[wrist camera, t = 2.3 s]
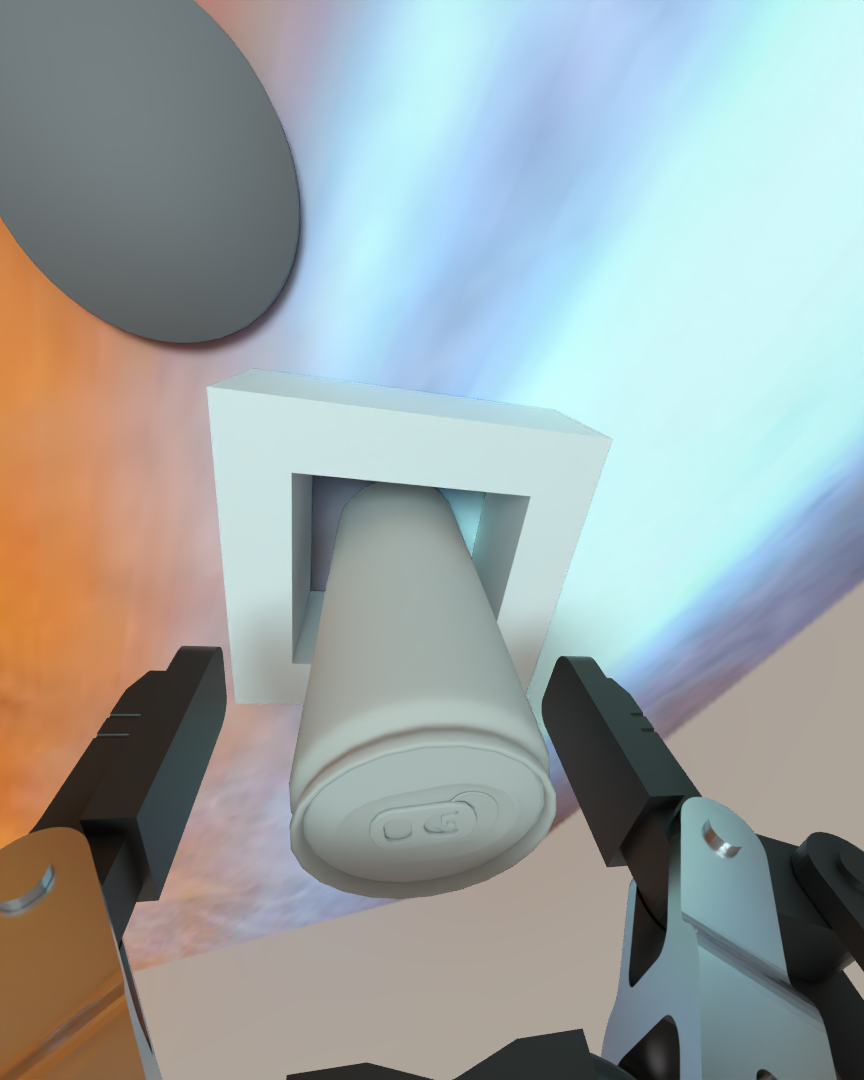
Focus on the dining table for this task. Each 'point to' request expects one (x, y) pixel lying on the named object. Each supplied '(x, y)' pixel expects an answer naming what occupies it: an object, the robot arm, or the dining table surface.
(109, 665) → the dining table surface
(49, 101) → the coaster
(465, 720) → the beverage can
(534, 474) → the pocket block
